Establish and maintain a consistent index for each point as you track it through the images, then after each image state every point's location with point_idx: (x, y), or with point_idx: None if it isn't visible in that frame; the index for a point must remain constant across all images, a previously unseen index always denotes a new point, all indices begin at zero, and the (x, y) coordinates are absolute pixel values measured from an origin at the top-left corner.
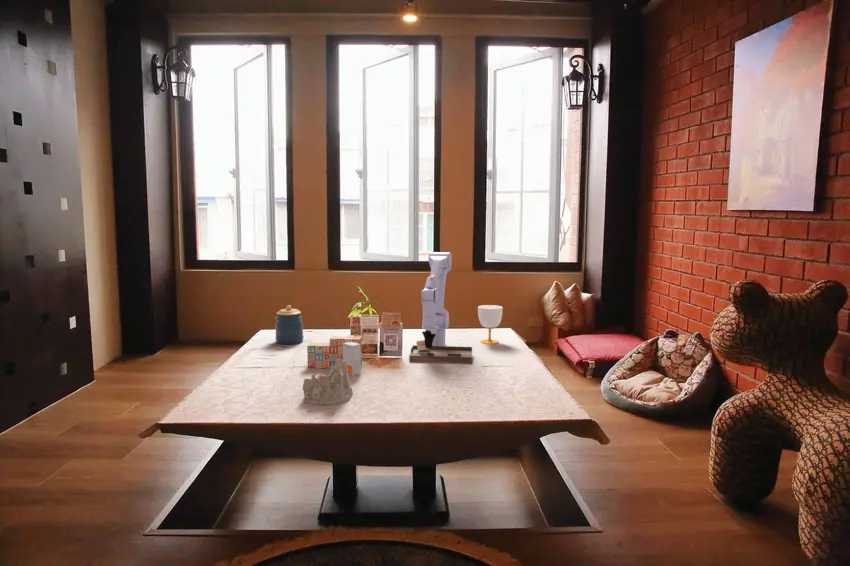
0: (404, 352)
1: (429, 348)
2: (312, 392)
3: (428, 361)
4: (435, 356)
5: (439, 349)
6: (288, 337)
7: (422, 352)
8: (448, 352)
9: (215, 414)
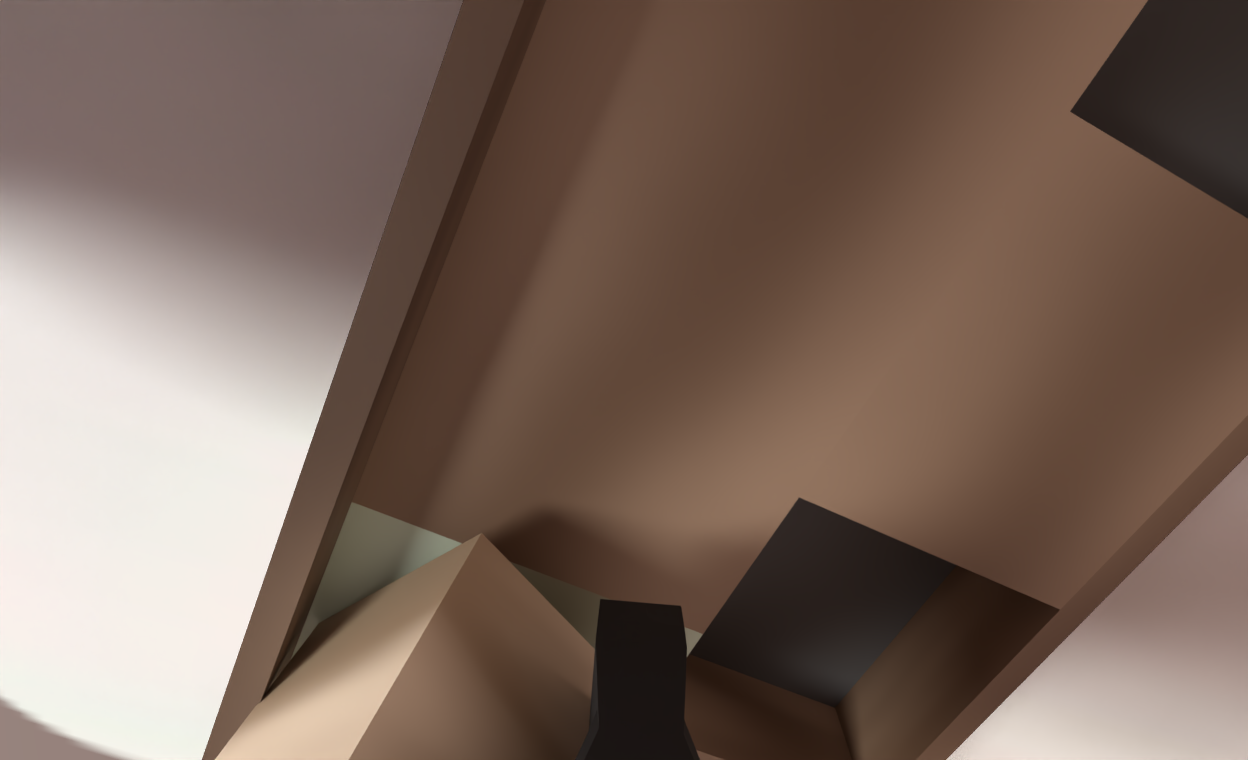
0: (108, 739)
1: (509, 570)
2: None
3: (948, 601)
4: (1122, 573)
5: (467, 208)
6: None
7: None
8: (963, 43)
9: None
